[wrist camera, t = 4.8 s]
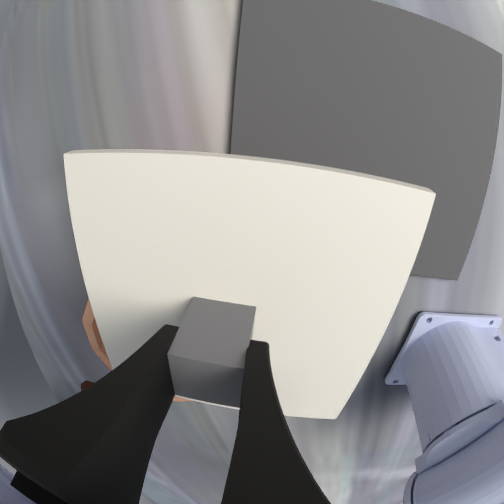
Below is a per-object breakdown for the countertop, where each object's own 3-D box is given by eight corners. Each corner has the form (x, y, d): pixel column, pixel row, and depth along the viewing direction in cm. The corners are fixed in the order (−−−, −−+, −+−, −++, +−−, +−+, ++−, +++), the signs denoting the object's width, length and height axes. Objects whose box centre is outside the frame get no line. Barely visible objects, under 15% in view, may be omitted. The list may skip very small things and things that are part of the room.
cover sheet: (428, 188, 8) (483, 234, 5) (335, 410, 15) (337, 464, 12) (73, 150, 9) (6, 178, 6) (120, 372, 16) (97, 417, 13)
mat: (497, 54, 10) (501, 54, 9) (454, 276, 17) (457, 280, 17) (245, -12, 11) (244, -15, 11) (227, 247, 19) (225, 251, 18)
